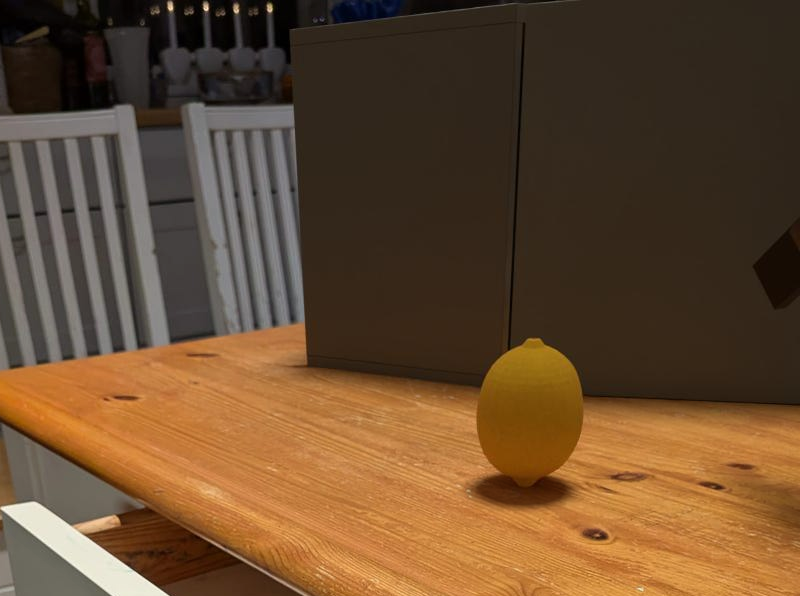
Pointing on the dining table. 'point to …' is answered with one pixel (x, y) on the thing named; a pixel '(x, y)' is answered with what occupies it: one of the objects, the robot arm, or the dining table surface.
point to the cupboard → (409, 190)
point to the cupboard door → (659, 194)
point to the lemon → (530, 412)
